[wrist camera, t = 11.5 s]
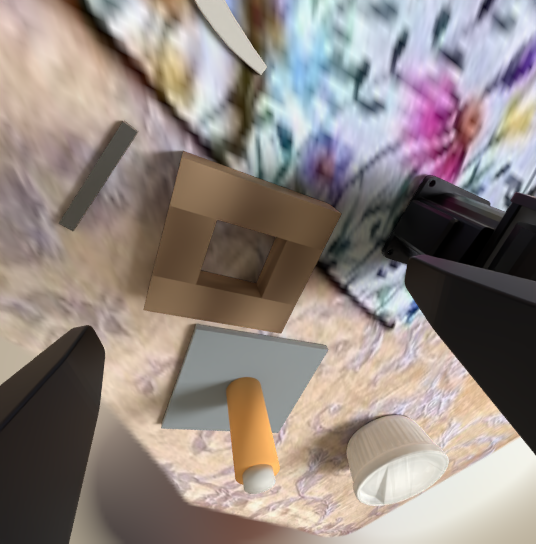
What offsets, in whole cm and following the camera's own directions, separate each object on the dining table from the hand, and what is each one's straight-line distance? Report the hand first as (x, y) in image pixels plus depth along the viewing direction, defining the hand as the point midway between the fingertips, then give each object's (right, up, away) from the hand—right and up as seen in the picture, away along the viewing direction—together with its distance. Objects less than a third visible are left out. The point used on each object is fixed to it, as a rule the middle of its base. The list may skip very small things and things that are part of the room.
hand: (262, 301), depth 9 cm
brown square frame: (-2, +2, +13) cm, 13 cm away
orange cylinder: (-2, -10, +19) cm, 22 cm away
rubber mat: (-2, -10, +20) cm, 22 cm away
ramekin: (+14, -20, +30) cm, 39 cm away
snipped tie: (-9, +6, +9) cm, 14 cm away
